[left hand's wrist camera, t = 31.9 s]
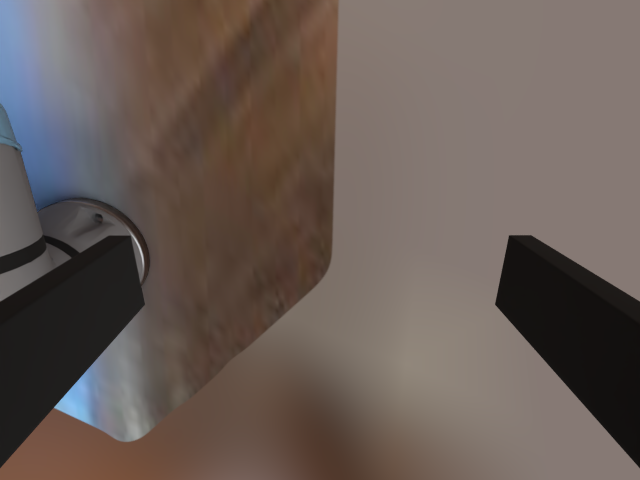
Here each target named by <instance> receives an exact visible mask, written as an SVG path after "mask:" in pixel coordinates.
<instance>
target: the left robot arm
mask: <svg viewBox="0 0 640 480" xmlns="http://www.w3.org/2000/svg"><path fill="white" fill-rule="evenodd" d="M21 151H22V147H21V146H20V144H18V143H17V142H16V139H15V136H14V133H13V130H12V127H11V124H10V121H9V118H8V116H7V113H6V111H5V109H4V107H3V106H2V105H1V104H0V468H1V467H2V465H3V464H4V463H5V462H6V461H7V460H8V459H9V457H10V456H11V455H12V454H13V453H14V452H15V451H16V450H17V448H18V447H19V446H20V445H21V444H22V443H23V442H24V441H25V439H26V438H27V437H28V436H29V435H30V434H31V433H32V432H33V430H34V429H35V428H36V427H37V426H38V425H39V424H40V422H41V421H42V420H43V419H44V418H45V417H46V416H47V415H48V413H49V412H50V411H51V410H52V409H53V408H54V407H55V406H56V404H57V403H58V402H59V401H60V400H61V399H62V398H63V397H64V395H65V394H66V393H67V392H68V391H69V390H70V389H71V387H72V386H73V385H74V384H75V383H76V382H77V381H78V380H79V378H80V377H81V376H82V375H83V374H84V373H85V372H86V371H87V369H88V368H89V367H90V366H91V365H92V364H93V363H94V361H95V360H96V359H97V358H98V357H99V356H100V355H101V354H102V352H103V351H104V350H105V349H106V348H107V347H108V346H109V345H110V343H111V342H112V341H113V340H114V339H115V338H116V337H117V335H118V334H119V333H120V332H121V331H122V330H123V329H124V328H125V326H126V325H127V324H128V323H129V322H130V321H131V320H132V319H133V317H134V316H135V315H136V314H137V313H138V312H139V311H140V309H141V308H142V307H143V306H144V305H145V303H144V298H143V293H142V288H141V286H142V284H143V283H144V281H145V279H146V277H147V275H148V271H149V252H148V248H147V245H146V243H145V240H144V238H143V236H142V234H141V233H140V231H139V230H138V229H137V227H136V226H135V225H134V224H133V223H132V221H131V220H130V219H128V218H127V217H126V216H125V215H124V214H123V213H121V212H120V211H118V210H117V209H115V208H113V207H111V206H109V205H107V204H105V203H102V202H100V201H96V200H92V199H85V198H73V199H67V200H63V201H60V202H57V203H54V204H51V205H49V206H47V207H45V208H43V209H41V210H40V211H38V212H37V210H36V206H35V202H34V199H33V195H32V192H31V188H30V184H29V181H28V177H27V174H26V170H25V166H24V163H23V159H22V156H21ZM495 305H496V306H497V307H498V308H499V309H500V311H501V312H502V313H503V314H504V315H505V316H506V317H507V318H508V320H509V321H510V322H511V323H512V324H513V325H514V326H515V328H516V329H517V330H518V331H519V332H520V333H521V334H522V335H523V337H524V338H525V339H526V340H527V341H528V342H529V343H530V344H531V346H532V347H533V348H534V349H535V350H536V351H537V352H538V353H539V355H540V356H541V357H542V358H543V359H544V360H545V361H546V363H547V364H548V365H549V366H550V367H551V368H552V369H553V371H554V372H555V373H556V374H557V375H558V376H559V377H560V378H561V380H562V381H563V382H564V383H565V384H566V385H567V386H568V387H569V389H570V390H571V391H572V392H573V393H574V394H575V395H576V396H577V398H578V399H579V400H580V401H581V402H582V403H583V404H584V405H585V407H586V408H587V409H588V410H589V411H590V412H591V413H592V415H593V416H594V417H595V418H596V419H597V420H598V421H599V422H600V424H601V425H602V426H603V427H604V428H605V429H606V430H607V431H608V433H609V434H610V435H611V436H612V437H613V438H614V439H615V441H616V442H617V443H618V444H619V445H620V446H621V447H622V448H623V450H624V451H625V452H626V453H627V454H628V455H629V456H630V458H631V459H632V460H633V461H634V462H635V463H636V464H637V465H638V467H639V468H640V301H638V300H636V299H635V298H633V297H631V296H630V295H628V294H627V293H625V292H623V291H622V290H620V289H618V288H617V287H615V286H613V285H612V284H610V283H608V282H607V281H605V280H604V279H602V278H600V277H599V276H597V275H595V274H594V273H592V272H590V271H589V270H587V269H585V268H584V267H582V266H581V265H579V264H577V263H576V262H574V261H572V260H571V259H569V258H567V257H566V256H564V255H562V254H561V253H559V252H558V251H556V250H554V249H553V248H551V247H549V246H548V245H546V244H544V243H543V242H541V241H540V240H538V239H536V238H535V237H533V236H531V235H510V236H509V239H508V244H507V249H506V254H505V258H504V263H503V268H502V273H501V278H500V283H499V288H498V293H497V298H496V303H495Z"/></svg>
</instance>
